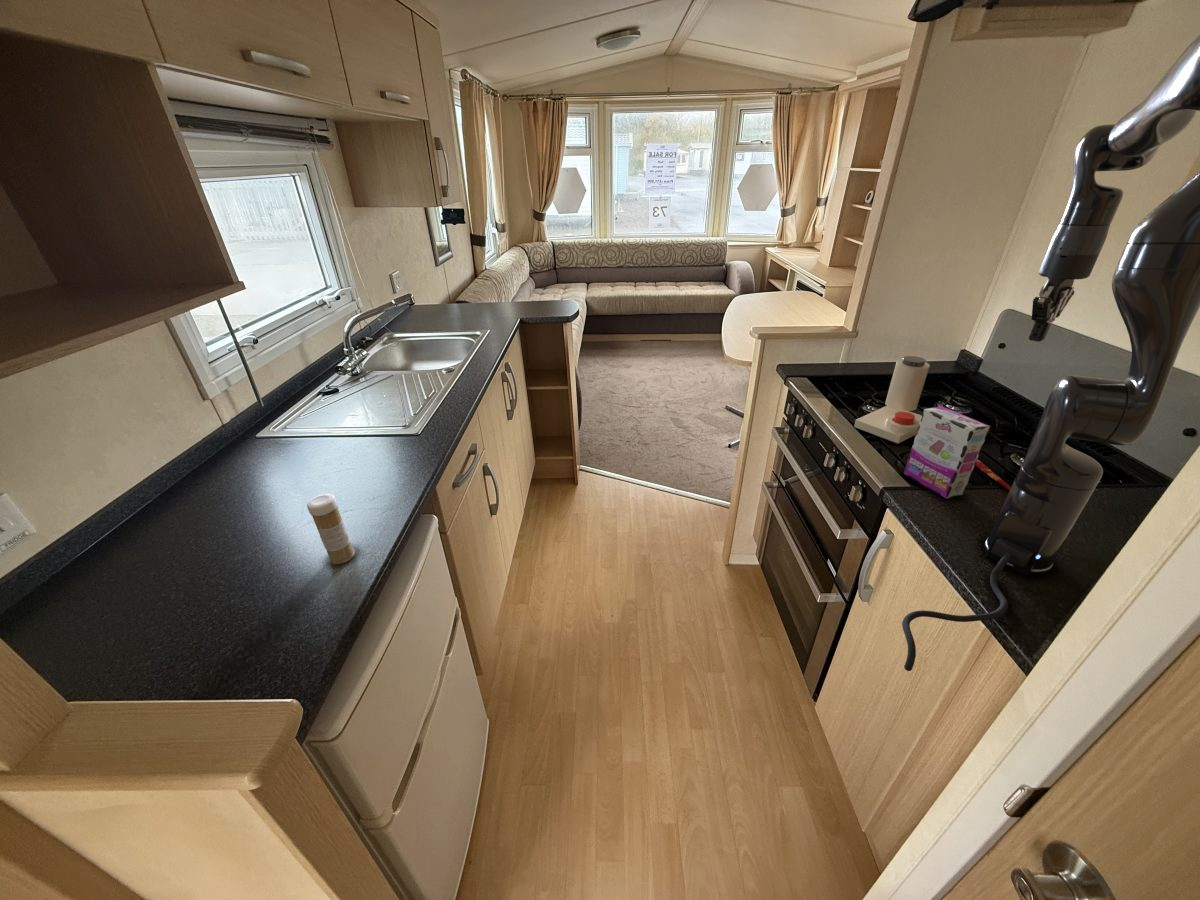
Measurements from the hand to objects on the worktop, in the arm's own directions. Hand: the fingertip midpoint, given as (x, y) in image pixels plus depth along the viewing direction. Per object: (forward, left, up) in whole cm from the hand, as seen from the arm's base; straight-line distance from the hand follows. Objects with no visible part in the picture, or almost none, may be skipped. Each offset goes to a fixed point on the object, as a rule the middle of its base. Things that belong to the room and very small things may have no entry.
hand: (1035, 340), depth 99 cm
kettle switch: (-3, +19, -25) cm, 32 cm away
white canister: (+6, +24, -25) cm, 35 cm away
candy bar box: (-20, +2, -29) cm, 35 cm away
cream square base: (0, +22, -29) cm, 36 cm away
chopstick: (-6, -3, -29) cm, 30 cm away
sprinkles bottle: (-133, +54, -29) cm, 147 cm away
